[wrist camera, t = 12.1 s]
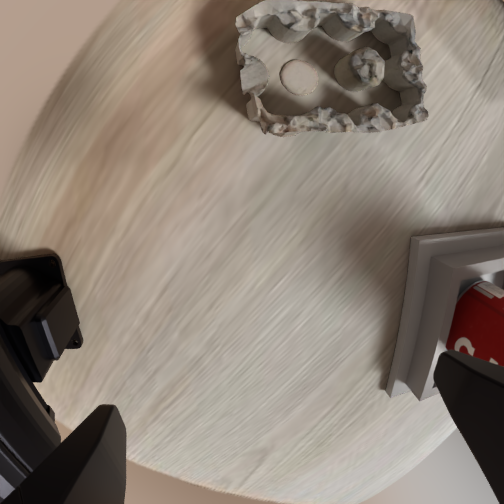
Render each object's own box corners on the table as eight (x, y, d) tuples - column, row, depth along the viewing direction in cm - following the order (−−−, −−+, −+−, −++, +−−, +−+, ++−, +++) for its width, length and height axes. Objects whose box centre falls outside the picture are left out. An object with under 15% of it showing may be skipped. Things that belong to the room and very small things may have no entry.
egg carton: (244, 143, 17) (255, 140, 13) (227, 22, 15) (234, -9, 11) (404, 132, 18) (444, 132, 14) (388, 28, 16) (422, 10, 12)
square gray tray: (385, 391, 25) (403, 416, 21) (411, 236, 20) (442, 251, 17) (486, 351, 26) (506, 367, 23) (516, 225, 22) (542, 235, 19)
